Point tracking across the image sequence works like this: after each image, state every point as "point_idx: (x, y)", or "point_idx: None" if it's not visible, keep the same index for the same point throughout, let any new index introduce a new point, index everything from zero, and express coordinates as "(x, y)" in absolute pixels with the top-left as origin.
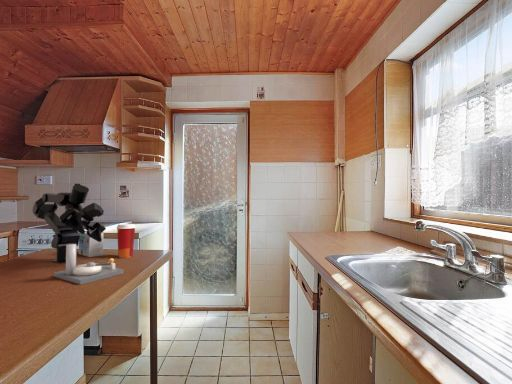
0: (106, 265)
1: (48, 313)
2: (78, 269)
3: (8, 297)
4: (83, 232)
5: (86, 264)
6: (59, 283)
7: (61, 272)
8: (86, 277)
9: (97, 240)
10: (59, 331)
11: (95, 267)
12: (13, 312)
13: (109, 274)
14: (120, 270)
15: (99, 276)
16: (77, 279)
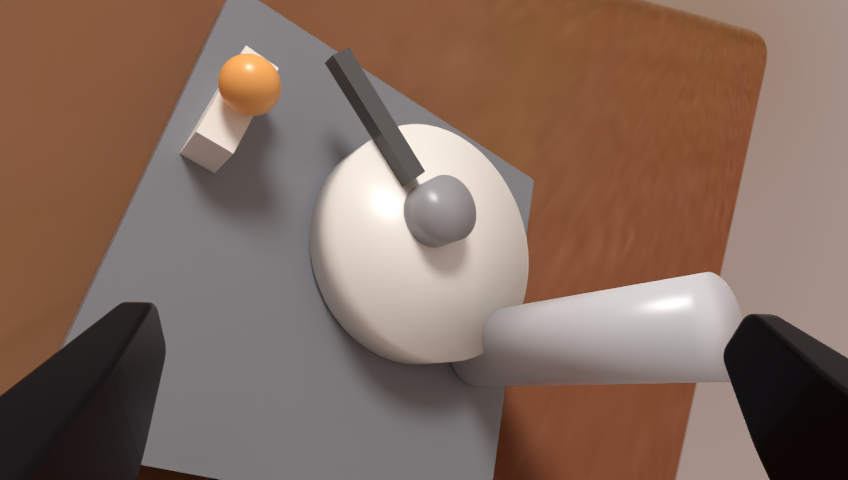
0: (118, 233)
1: (688, 112)
2: (523, 243)
3: None
4: (761, 331)
5: (398, 296)
6: None
7: (468, 465)
8: None
9: (143, 428)
10: (710, 25)
11: (447, 147)
12: (717, 220)
13: None
14: (265, 8)
15: (428, 118)
16: (528, 208)
